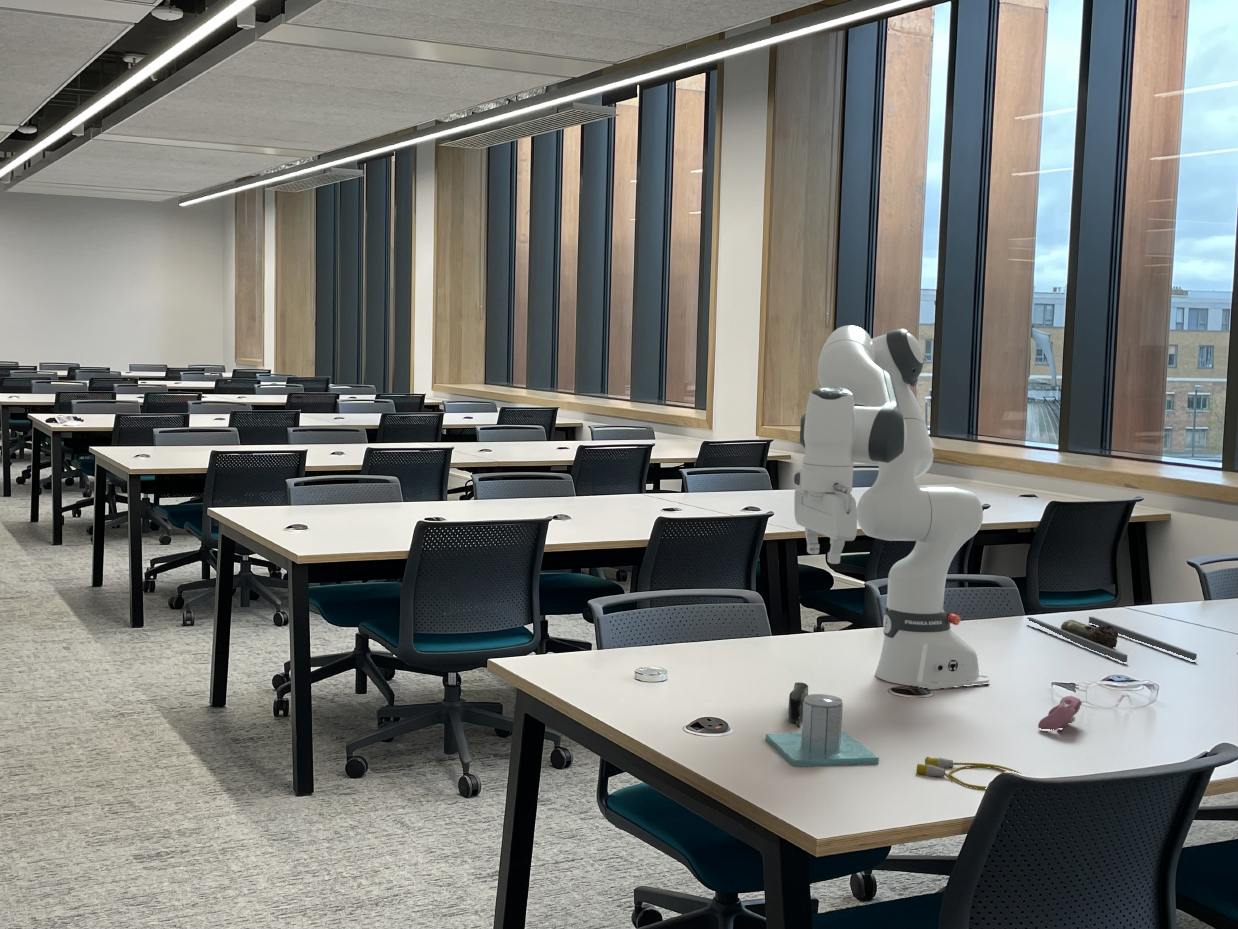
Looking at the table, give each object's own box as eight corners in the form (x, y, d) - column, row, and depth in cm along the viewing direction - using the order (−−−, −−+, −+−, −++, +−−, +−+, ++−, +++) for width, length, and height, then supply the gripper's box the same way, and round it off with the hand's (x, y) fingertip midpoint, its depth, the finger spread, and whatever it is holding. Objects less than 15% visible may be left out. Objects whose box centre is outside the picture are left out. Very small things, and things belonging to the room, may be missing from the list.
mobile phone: (792, 679, 228) (787, 698, 213) (809, 681, 227) (805, 700, 213) (791, 706, 228) (786, 727, 214) (808, 707, 228) (804, 728, 213)
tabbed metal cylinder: (810, 731, 208) (812, 687, 207) (845, 736, 206) (848, 691, 205) (799, 748, 198) (801, 701, 198) (836, 752, 197) (838, 706, 196)
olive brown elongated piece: (1059, 637, 296) (1060, 614, 296) (1084, 638, 297) (1086, 614, 297) (1100, 654, 279) (1102, 629, 278) (1128, 654, 280) (1129, 630, 280)
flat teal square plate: (844, 737, 209) (846, 699, 208) (878, 763, 195) (880, 723, 194) (765, 739, 206) (767, 701, 205) (793, 766, 192) (795, 725, 192)
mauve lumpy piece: (1058, 744, 214) (1079, 711, 212) (1034, 728, 216) (1055, 696, 214) (1069, 730, 223) (1090, 699, 220) (1046, 715, 224) (1067, 684, 222)
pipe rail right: (1092, 624, 312) (1092, 616, 311) (1196, 662, 273) (1196, 654, 272) (1088, 624, 311) (1089, 616, 311) (1192, 663, 272) (1192, 654, 272)
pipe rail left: (1030, 625, 308) (1031, 617, 308) (1126, 664, 269) (1127, 655, 269) (1026, 625, 308) (1027, 617, 308) (1122, 664, 269) (1123, 655, 269)
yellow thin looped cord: (947, 758, 200) (948, 746, 200) (1039, 783, 189) (1040, 770, 189) (907, 774, 192) (907, 762, 191) (1001, 802, 181) (1002, 788, 181)
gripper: (868, 487, 207) (864, 569, 209) (821, 474, 227) (818, 548, 229) (833, 487, 206) (829, 569, 207) (789, 473, 226) (786, 548, 227)
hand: (823, 558), depth 218 cm, fingers open, 8 cm apart
